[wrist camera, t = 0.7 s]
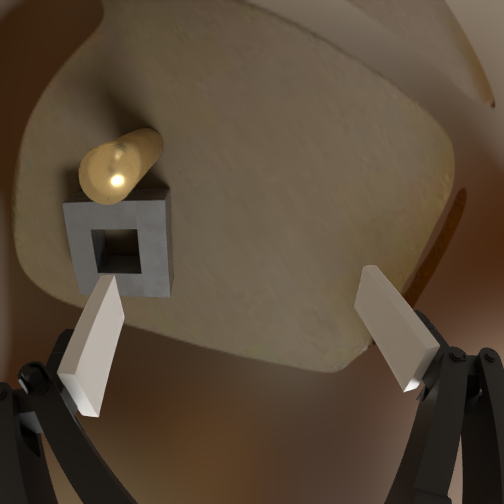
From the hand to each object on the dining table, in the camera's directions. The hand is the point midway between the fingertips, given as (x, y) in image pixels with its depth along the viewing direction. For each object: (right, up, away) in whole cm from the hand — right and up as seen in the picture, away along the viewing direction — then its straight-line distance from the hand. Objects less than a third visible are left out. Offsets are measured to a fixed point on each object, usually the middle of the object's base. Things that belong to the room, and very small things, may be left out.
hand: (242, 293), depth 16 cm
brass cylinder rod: (-12, +14, +16) cm, 24 cm away
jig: (-15, +4, +21) cm, 26 cm away
